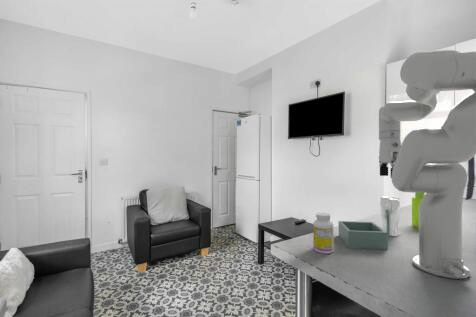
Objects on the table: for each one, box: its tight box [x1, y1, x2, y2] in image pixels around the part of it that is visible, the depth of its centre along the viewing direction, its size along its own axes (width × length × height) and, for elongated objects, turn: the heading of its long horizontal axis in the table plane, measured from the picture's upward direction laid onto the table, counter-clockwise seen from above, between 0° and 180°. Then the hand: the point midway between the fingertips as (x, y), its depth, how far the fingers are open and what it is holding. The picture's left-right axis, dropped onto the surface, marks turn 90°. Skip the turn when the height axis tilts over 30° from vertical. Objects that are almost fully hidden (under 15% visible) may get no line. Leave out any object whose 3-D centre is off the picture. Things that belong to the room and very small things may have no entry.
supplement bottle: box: [312, 212, 335, 255], centre depth 82 cm, size 7×7×13 cm
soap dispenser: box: [411, 193, 426, 229], centre depth 107 cm, size 6×7×20 cm
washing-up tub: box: [338, 220, 389, 251], centre depth 89 cm, size 13×13×6 cm
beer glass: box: [379, 196, 401, 237], centre depth 98 cm, size 7×7×15 cm
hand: (389, 176), depth 98 cm, fingers open, 9 cm apart
